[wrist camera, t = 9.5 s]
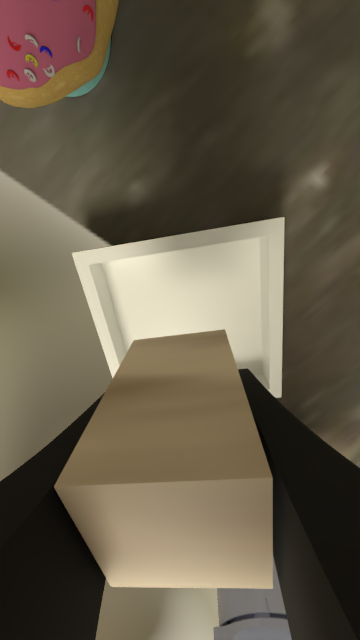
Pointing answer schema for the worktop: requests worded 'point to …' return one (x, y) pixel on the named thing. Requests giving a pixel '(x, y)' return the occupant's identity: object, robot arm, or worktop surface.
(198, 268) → the tray
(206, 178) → the worktop surface
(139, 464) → the wooden block
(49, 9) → the cupcake
